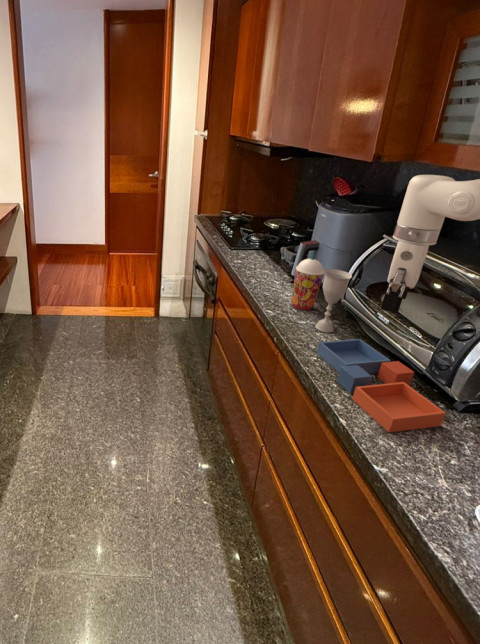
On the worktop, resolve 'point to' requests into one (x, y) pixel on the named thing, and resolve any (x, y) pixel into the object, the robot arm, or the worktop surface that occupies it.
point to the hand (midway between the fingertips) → (393, 303)
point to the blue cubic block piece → (353, 377)
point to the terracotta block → (395, 373)
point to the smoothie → (307, 283)
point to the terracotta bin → (398, 407)
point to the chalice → (332, 294)
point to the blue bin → (351, 355)
